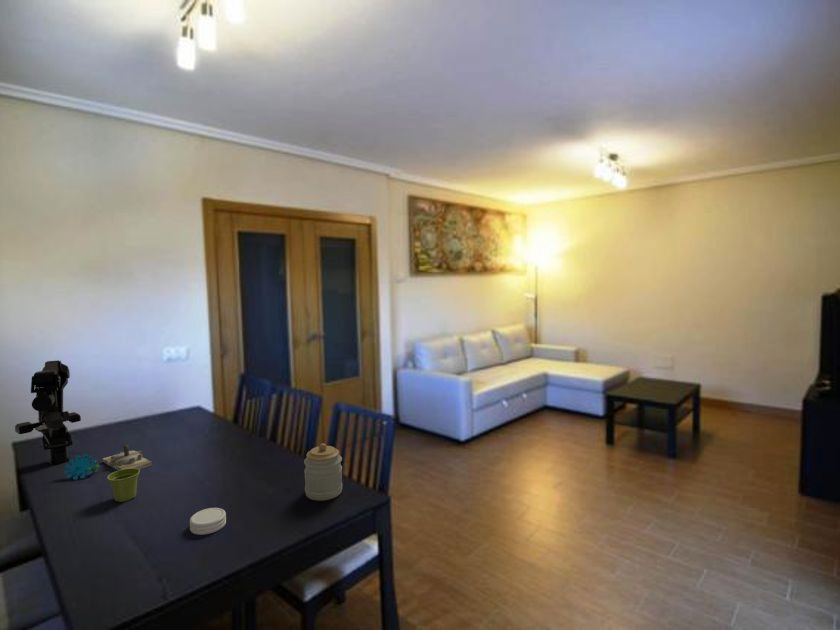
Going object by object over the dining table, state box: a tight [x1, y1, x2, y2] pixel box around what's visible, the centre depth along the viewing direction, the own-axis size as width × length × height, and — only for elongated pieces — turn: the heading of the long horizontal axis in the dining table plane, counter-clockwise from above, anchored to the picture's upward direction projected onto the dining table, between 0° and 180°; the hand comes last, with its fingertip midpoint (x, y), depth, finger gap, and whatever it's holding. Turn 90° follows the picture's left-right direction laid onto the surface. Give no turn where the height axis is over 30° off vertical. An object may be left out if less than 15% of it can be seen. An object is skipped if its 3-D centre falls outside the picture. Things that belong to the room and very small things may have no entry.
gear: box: [64, 453, 100, 481], centre depth 174 cm, size 11×6×10 cm
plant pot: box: [106, 468, 141, 503], centre depth 155 cm, size 9×9×9 cm
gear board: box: [102, 444, 153, 471], centre depth 184 cm, size 20×11×8 cm, turn 55°
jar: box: [303, 443, 343, 502], centre depth 159 cm, size 13×13×18 cm
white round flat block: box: [189, 507, 227, 536], centre depth 138 cm, size 10×10×4 cm
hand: (50, 444), depth 173 cm, fingers closed
